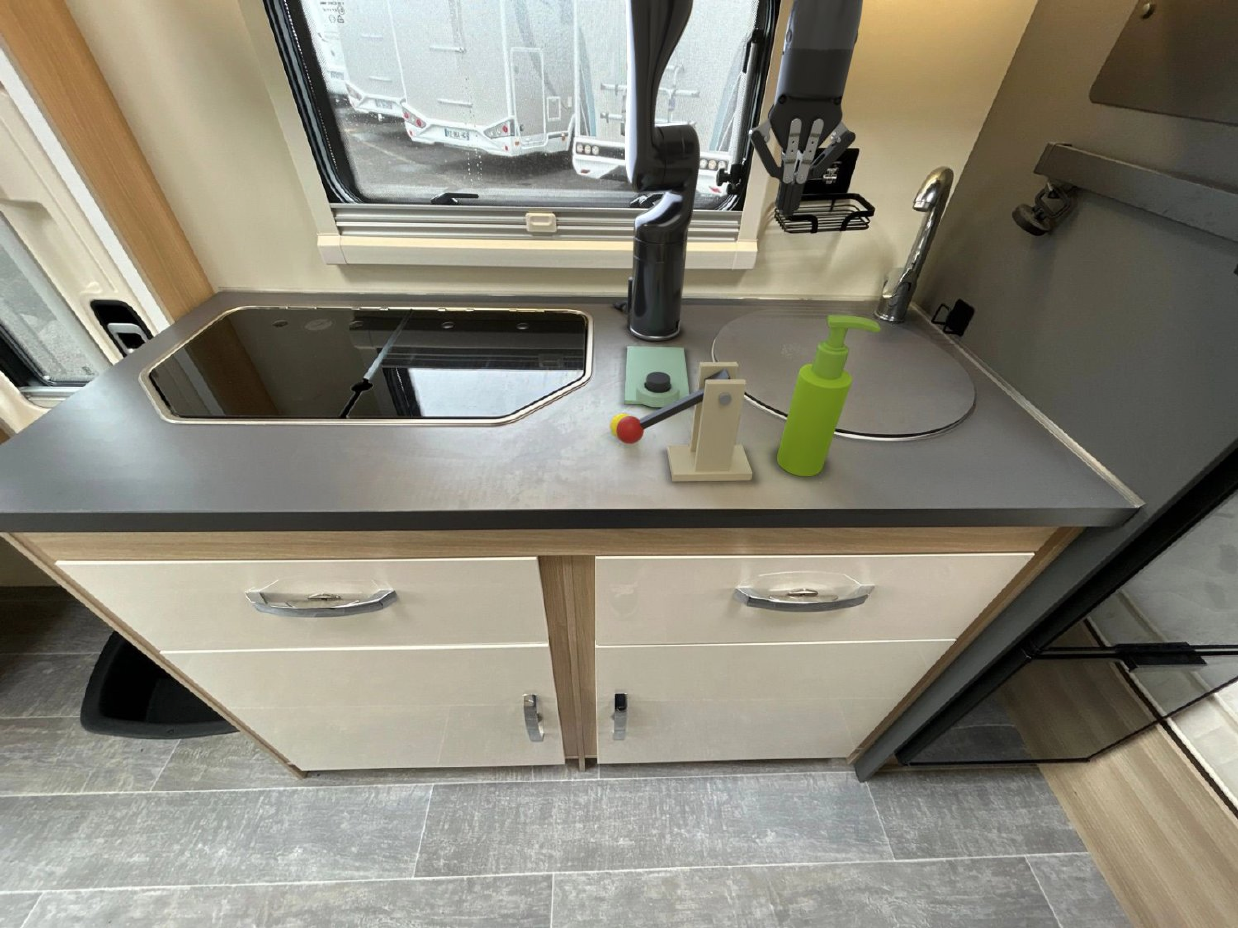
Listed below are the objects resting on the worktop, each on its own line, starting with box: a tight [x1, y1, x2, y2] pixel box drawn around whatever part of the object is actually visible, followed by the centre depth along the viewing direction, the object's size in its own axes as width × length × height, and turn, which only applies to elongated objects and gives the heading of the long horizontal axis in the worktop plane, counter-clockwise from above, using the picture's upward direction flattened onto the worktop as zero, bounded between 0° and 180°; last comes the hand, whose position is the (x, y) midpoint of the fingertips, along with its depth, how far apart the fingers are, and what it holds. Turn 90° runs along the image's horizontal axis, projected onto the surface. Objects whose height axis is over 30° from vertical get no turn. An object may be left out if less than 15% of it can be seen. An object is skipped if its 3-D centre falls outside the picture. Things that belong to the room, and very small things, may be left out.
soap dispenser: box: [776, 314, 882, 477], centre depth 63 cm, size 6×7×20 cm
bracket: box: [666, 361, 753, 483], centre depth 64 cm, size 10×6×14 cm, turn 92°
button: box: [646, 372, 671, 393], centre depth 79 cm, size 4×4×2 cm
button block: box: [623, 345, 690, 408], centre depth 85 cm, size 20×10×2 cm, turn 178°
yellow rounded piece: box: [609, 412, 630, 439], centre depth 73 cm, size 3×6×4 cm, turn 175°
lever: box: [616, 369, 731, 445], centre depth 62 cm, size 15×3×3 cm
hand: (785, 213), depth 69 cm, fingers closed
